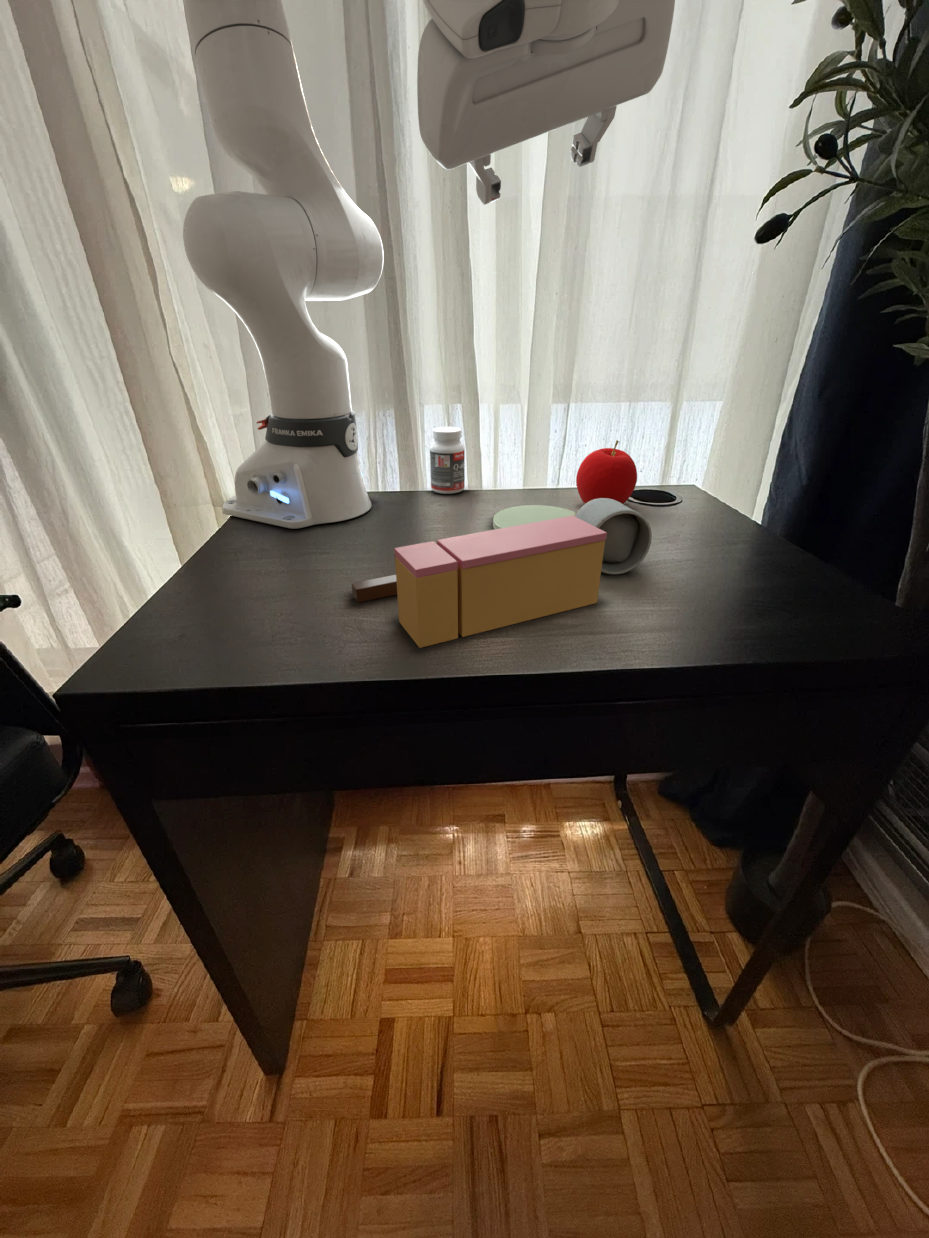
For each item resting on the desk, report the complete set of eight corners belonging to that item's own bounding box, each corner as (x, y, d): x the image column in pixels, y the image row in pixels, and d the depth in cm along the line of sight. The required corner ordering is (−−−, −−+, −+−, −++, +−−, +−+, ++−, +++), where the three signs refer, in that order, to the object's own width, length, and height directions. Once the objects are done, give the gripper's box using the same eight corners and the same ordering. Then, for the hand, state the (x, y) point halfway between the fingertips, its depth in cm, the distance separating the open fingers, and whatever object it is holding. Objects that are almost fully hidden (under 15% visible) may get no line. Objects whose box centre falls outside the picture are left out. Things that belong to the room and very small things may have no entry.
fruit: (627, 518, 84) (637, 449, 79) (567, 510, 87) (573, 443, 82) (637, 500, 91) (647, 436, 86) (581, 494, 94) (588, 431, 89)
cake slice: (419, 648, 53) (415, 569, 49) (398, 622, 57) (393, 548, 53) (458, 638, 54) (457, 561, 50) (435, 613, 58) (433, 540, 55)
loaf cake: (462, 638, 54) (462, 561, 50) (438, 612, 59) (436, 539, 55) (598, 603, 60) (607, 532, 56) (566, 582, 65) (573, 515, 61)
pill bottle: (460, 495, 93) (460, 433, 89) (427, 493, 94) (425, 432, 90) (467, 486, 98) (467, 426, 93) (435, 484, 99) (434, 425, 94)
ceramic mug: (619, 546, 74) (627, 488, 70) (648, 572, 67) (657, 509, 63) (541, 553, 73) (544, 494, 69) (561, 580, 65) (566, 516, 62)
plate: (482, 537, 77) (482, 530, 77) (504, 507, 88) (505, 501, 88) (578, 547, 74) (579, 540, 73) (589, 515, 85) (590, 509, 84)
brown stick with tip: (358, 604, 60) (356, 590, 60) (352, 595, 62) (350, 581, 61) (520, 569, 68) (521, 557, 67) (510, 562, 70) (510, 550, 69)
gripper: (666, -110, 39) (617, 118, 52) (397, -20, 37) (417, 195, 50) (719, -61, 37) (654, 162, 51) (440, 36, 35) (449, 244, 48)
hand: (535, 179), depth 50 cm, fingers open, 8 cm apart
